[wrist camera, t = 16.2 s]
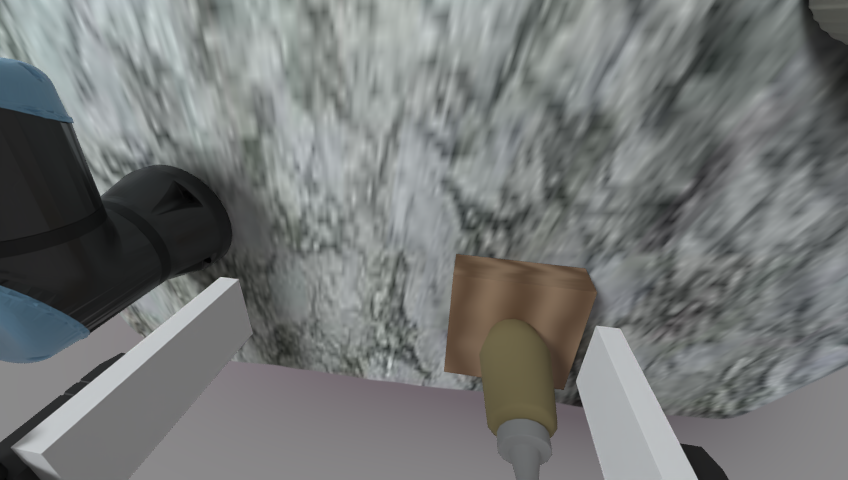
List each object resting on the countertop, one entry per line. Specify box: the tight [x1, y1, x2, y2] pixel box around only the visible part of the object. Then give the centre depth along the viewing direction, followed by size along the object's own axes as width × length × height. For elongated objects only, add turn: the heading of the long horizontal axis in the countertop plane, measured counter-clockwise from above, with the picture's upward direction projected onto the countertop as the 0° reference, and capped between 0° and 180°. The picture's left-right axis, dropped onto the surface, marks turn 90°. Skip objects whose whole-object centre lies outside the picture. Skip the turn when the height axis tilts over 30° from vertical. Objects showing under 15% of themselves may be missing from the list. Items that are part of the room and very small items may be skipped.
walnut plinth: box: [444, 254, 597, 390], centre depth 44 cm, size 16×16×5 cm
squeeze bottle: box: [479, 319, 557, 480], centre depth 34 cm, size 8×8×18 cm
